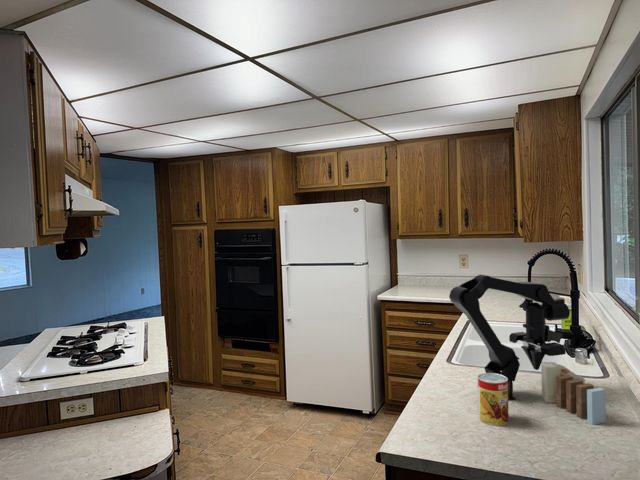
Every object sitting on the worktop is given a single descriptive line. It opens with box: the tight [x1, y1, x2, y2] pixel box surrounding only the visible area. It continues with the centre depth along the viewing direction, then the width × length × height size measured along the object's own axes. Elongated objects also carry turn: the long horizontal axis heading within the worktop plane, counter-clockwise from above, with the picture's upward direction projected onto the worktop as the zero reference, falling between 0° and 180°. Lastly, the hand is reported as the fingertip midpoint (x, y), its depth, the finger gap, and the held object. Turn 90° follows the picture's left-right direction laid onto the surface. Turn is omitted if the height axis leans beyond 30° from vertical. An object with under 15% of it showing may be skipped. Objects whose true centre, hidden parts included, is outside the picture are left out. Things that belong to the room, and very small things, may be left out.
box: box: [540, 361, 561, 404], centre depth 134 cm, size 5×4×11 cm
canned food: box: [477, 372, 510, 427], centre depth 122 cm, size 8×8×12 cm
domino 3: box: [576, 382, 595, 420], centre depth 122 cm, size 2×4×9 cm, turn 104°
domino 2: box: [566, 379, 583, 414], centre depth 126 cm, size 2×4×9 cm, turn 104°
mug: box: [557, 363, 586, 384], centre depth 145 cm, size 8×10×10 cm
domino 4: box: [586, 387, 606, 425], centre depth 119 cm, size 2×4×9 cm, turn 104°
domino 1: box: [556, 375, 573, 410], centre depth 129 cm, size 2×4×9 cm, turn 104°
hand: (536, 369), depth 140 cm, fingers closed
